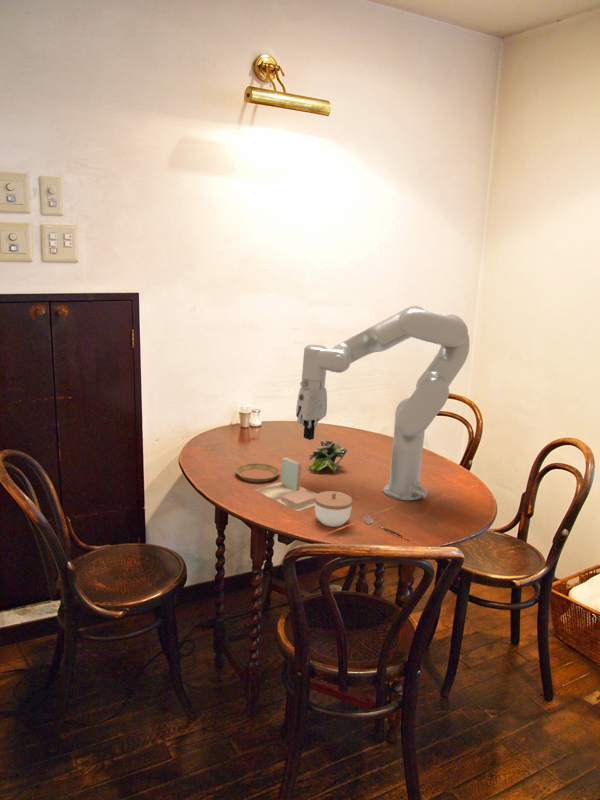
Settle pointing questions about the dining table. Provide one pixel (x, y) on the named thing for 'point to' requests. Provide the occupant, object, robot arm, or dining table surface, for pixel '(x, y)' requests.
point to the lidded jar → (333, 508)
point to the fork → (381, 527)
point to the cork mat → (279, 490)
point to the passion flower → (326, 456)
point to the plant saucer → (257, 466)
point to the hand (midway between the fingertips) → (308, 438)
